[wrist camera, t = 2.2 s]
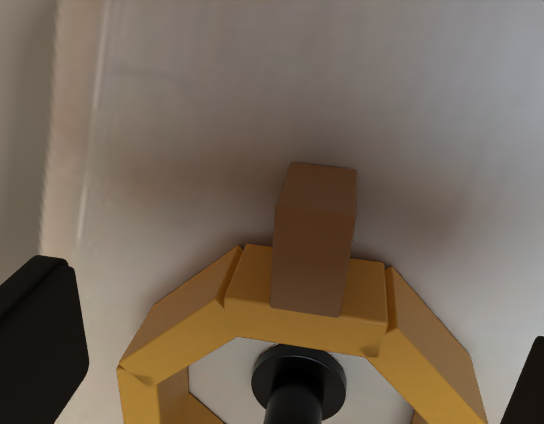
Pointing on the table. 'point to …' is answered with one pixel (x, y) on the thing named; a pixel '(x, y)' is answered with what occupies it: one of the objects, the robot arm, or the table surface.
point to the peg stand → (298, 385)
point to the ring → (300, 313)
